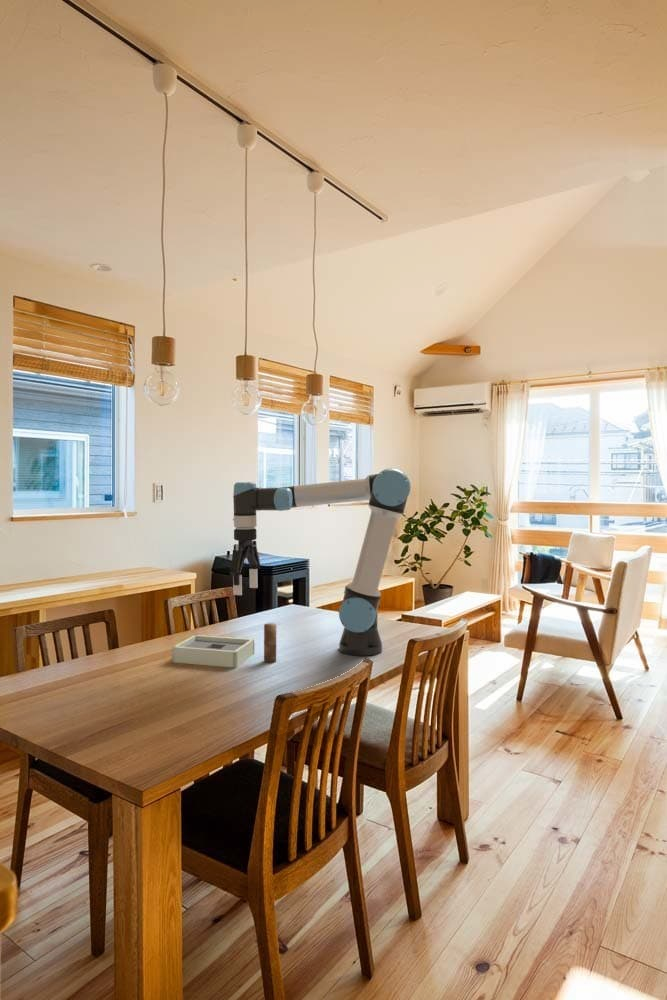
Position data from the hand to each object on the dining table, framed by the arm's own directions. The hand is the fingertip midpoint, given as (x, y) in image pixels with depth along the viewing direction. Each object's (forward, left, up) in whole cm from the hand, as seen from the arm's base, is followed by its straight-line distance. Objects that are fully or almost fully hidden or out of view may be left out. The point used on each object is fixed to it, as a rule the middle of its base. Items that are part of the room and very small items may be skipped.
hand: (245, 591), depth 204 cm
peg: (-10, +4, -22) cm, 24 cm away
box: (+9, +5, -22) cm, 24 cm away
